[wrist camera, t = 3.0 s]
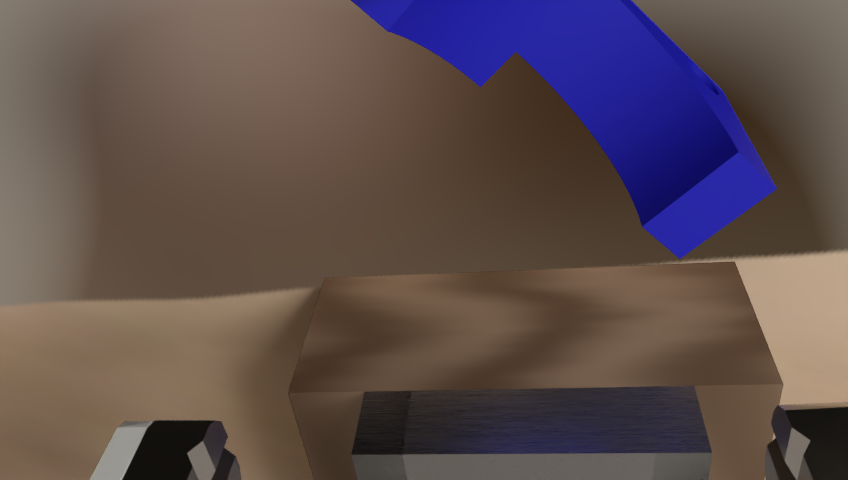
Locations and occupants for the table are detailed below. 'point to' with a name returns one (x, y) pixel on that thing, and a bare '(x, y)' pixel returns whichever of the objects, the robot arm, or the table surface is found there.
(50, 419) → the table surface
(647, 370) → the hinge cabinet
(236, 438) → the table surface
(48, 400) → the table surface
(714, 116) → the cable clip
